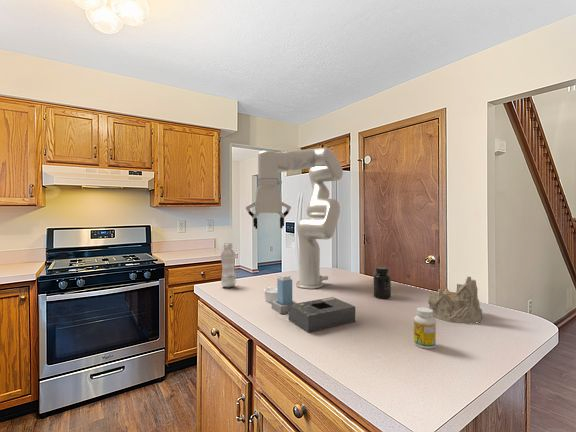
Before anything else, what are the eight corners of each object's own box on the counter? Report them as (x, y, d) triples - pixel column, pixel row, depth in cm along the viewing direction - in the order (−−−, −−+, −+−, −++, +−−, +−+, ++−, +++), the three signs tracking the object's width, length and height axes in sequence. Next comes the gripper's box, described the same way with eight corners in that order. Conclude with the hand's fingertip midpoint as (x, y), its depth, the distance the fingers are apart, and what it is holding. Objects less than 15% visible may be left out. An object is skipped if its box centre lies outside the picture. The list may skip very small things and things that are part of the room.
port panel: (332, 310, 112) (332, 296, 112) (355, 321, 102) (355, 305, 101) (288, 319, 103) (288, 303, 103) (308, 332, 93) (308, 315, 93)
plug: (287, 306, 117) (286, 274, 116) (292, 310, 113) (292, 276, 113) (277, 308, 115) (277, 275, 115) (282, 311, 111) (282, 277, 111)
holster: (288, 304, 119) (288, 298, 119) (298, 310, 113) (298, 303, 113) (271, 307, 116) (271, 301, 116) (280, 313, 109) (280, 306, 109)
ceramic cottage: (488, 314, 108) (485, 270, 108) (474, 329, 97) (470, 280, 96) (440, 306, 119) (438, 267, 119) (422, 319, 108) (419, 276, 107)
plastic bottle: (234, 288, 142) (234, 244, 141) (219, 288, 142) (219, 244, 142) (237, 285, 148) (236, 243, 148) (222, 285, 149) (222, 243, 148)
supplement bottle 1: (388, 294, 132) (389, 266, 132) (392, 299, 125) (392, 269, 125) (372, 294, 133) (372, 266, 132) (374, 299, 126) (375, 269, 126)
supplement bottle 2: (439, 349, 82) (439, 313, 82) (418, 349, 82) (418, 313, 82) (429, 340, 87) (430, 306, 87) (410, 340, 88) (411, 306, 87)
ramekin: (283, 304, 120) (283, 293, 120) (261, 302, 122) (261, 291, 122) (288, 297, 129) (288, 287, 129) (267, 296, 131) (267, 286, 131)
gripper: (289, 184, 125) (289, 227, 126) (245, 184, 123) (246, 228, 124) (291, 183, 118) (292, 228, 119) (245, 183, 116) (246, 229, 117)
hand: (268, 228), depth 121 cm, fingers open, 9 cm apart
